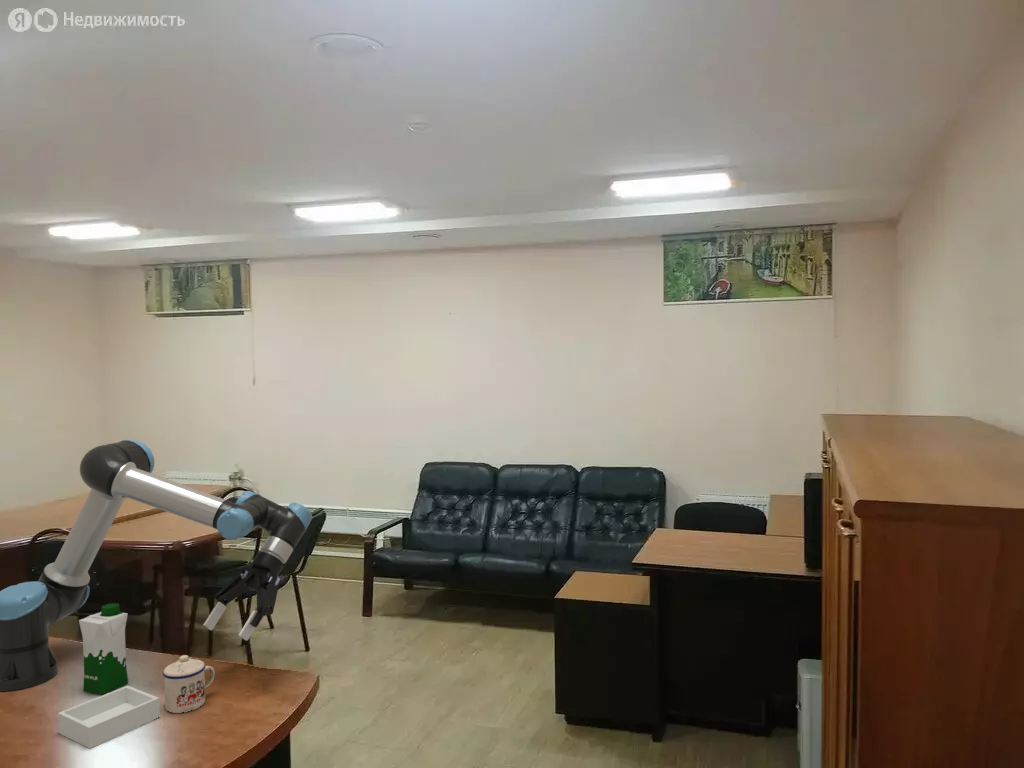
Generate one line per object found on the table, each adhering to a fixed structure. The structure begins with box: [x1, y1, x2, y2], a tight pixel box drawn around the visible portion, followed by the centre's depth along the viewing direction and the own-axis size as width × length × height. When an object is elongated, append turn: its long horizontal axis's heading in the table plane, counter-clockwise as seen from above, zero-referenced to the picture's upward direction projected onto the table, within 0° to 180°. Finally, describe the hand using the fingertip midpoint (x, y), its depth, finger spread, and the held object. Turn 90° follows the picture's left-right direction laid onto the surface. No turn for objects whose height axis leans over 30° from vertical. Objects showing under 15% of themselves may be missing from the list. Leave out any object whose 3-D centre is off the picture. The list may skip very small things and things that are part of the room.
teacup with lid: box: [162, 654, 216, 714], centre depth 175 cm, size 12×9×12 cm
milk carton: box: [78, 602, 129, 696], centre depth 183 cm, size 9×9×20 cm
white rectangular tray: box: [57, 685, 161, 750], centre depth 164 cm, size 13×16×4 cm
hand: (224, 632), depth 182 cm, fingers open, 13 cm apart
